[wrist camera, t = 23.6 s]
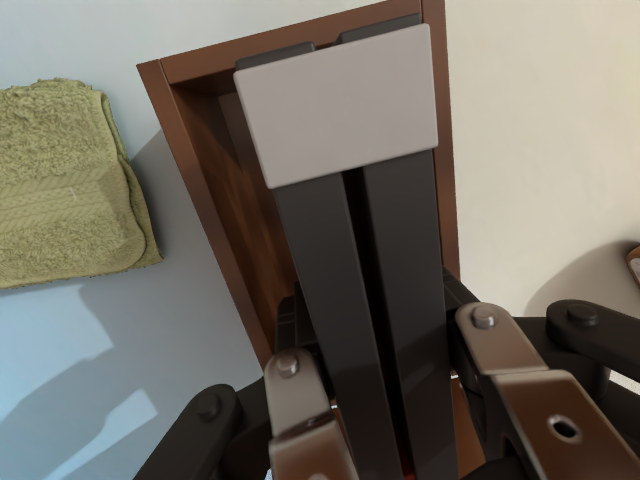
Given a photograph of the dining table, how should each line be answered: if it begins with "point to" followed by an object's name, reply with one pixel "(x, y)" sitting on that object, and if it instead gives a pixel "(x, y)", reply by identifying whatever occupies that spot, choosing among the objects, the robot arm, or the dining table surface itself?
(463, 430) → the lid
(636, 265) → the tin
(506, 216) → the dining table surface
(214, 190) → the chest
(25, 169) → the washcloth
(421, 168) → the dark grey long block
